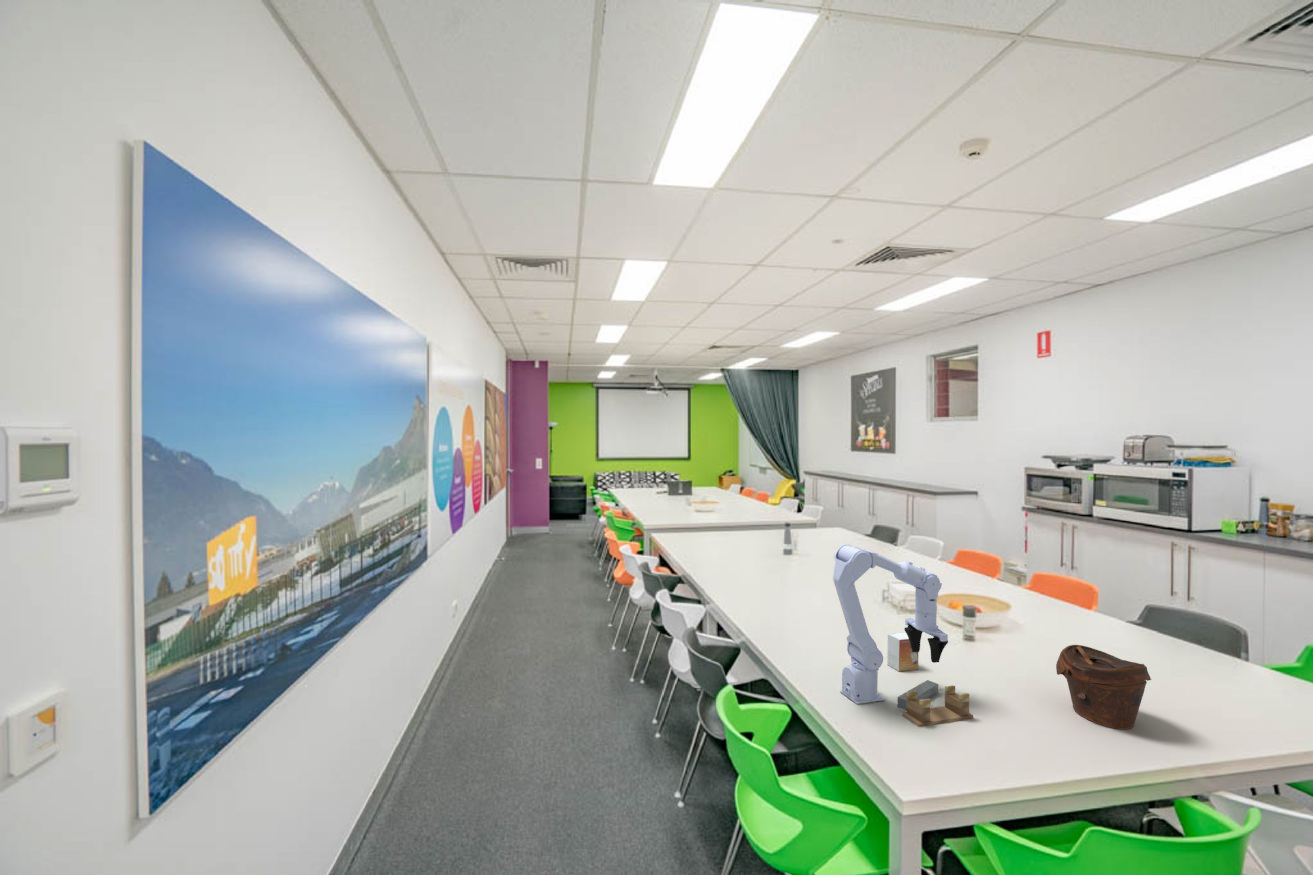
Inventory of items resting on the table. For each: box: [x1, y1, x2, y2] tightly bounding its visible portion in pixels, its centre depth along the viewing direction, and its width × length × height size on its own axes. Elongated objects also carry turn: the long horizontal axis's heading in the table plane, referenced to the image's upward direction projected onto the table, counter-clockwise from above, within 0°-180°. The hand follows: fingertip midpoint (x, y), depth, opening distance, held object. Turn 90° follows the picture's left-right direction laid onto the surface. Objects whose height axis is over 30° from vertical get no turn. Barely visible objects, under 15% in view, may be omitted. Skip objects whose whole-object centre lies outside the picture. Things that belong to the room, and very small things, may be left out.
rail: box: [896, 679, 939, 712], centre depth 151 cm, size 18×3×3 cm, turn 128°
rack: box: [901, 684, 974, 728], centre depth 142 cm, size 18×6×6 cm, turn 106°
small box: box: [886, 632, 919, 672], centre depth 174 cm, size 8×6×10 cm
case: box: [1055, 644, 1152, 730], centre depth 144 cm, size 18×20×18 cm
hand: (925, 656), depth 157 cm, fingers open, 7 cm apart
